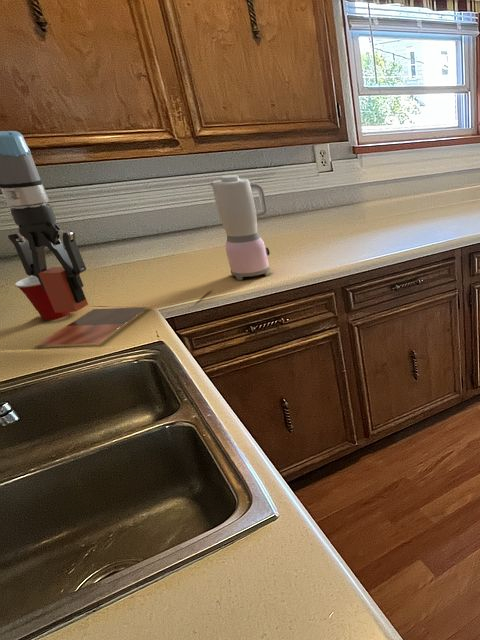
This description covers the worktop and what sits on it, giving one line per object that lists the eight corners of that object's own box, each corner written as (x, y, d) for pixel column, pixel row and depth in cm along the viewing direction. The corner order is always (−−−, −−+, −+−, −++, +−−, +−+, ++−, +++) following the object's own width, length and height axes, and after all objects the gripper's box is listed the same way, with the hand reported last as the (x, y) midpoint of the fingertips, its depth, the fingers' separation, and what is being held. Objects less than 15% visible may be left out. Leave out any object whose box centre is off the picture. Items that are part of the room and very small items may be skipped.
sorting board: (36, 348, 127) (35, 345, 127) (94, 311, 148) (93, 309, 148) (99, 345, 128) (98, 342, 127) (148, 309, 149) (147, 307, 149)
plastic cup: (38, 314, 147) (20, 274, 141) (83, 308, 151) (67, 268, 145) (26, 328, 138) (6, 286, 132) (74, 321, 142) (57, 280, 136)
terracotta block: (54, 312, 127) (38, 273, 122) (67, 305, 131) (52, 267, 127) (76, 311, 127) (60, 272, 122) (88, 304, 131) (73, 266, 127)
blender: (237, 282, 169) (213, 180, 154) (227, 274, 178) (202, 176, 163) (285, 273, 178) (266, 175, 163) (273, 265, 186) (253, 171, 172)
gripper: (-26, 209, 114) (20, 308, 124) (60, 207, 115) (97, 305, 125) (0, 203, 120) (41, 297, 131) (80, 200, 121) (115, 294, 132)
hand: (68, 301), depth 128 cm, fingers closed on terracotta block, 5 cm apart
